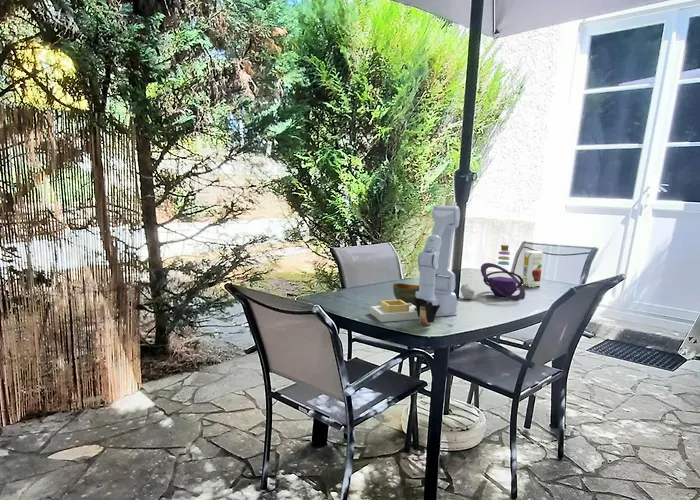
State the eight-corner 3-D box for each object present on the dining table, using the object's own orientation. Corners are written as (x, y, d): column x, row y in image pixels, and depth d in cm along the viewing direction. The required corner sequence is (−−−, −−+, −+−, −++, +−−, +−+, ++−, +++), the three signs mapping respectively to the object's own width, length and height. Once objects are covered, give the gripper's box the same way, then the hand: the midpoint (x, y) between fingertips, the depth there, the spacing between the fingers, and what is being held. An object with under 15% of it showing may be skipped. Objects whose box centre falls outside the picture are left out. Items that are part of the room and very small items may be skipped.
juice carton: (519, 285, 245) (522, 250, 242) (533, 284, 247) (535, 250, 245) (529, 288, 238) (531, 252, 235) (542, 287, 240) (545, 252, 238)
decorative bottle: (508, 304, 202) (512, 249, 199) (469, 295, 218) (472, 244, 215) (534, 297, 216) (538, 246, 213) (495, 289, 232) (498, 241, 229)
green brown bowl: (416, 311, 187) (417, 287, 186) (389, 301, 204) (390, 279, 203) (440, 308, 193) (441, 285, 192) (413, 298, 211) (413, 277, 209)
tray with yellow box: (410, 310, 189) (411, 297, 188) (424, 318, 177) (424, 305, 176) (370, 313, 183) (370, 300, 182) (381, 321, 172) (381, 307, 171)
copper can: (427, 322, 172) (428, 304, 171) (433, 325, 168) (434, 307, 167) (417, 323, 171) (418, 305, 170) (422, 326, 167) (423, 308, 166)
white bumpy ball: (466, 296, 216) (467, 282, 215) (477, 299, 210) (478, 285, 209) (457, 297, 213) (457, 283, 212) (467, 301, 207) (468, 286, 206)
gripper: (408, 280, 173) (407, 314, 175) (426, 288, 160) (424, 325, 161) (425, 279, 175) (424, 313, 177) (444, 287, 162) (442, 324, 164)
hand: (425, 319), depth 169 cm, fingers open, 7 cm apart
